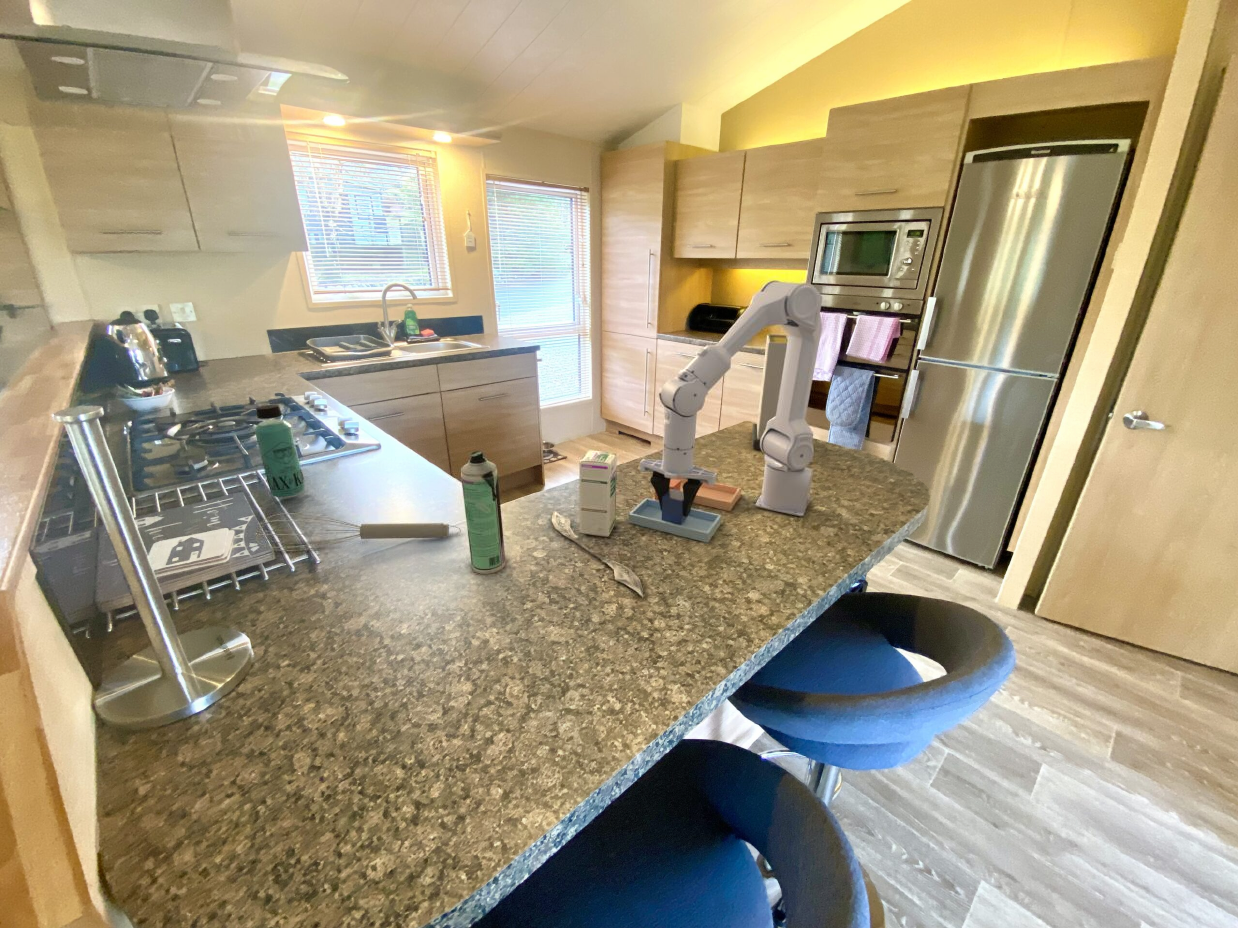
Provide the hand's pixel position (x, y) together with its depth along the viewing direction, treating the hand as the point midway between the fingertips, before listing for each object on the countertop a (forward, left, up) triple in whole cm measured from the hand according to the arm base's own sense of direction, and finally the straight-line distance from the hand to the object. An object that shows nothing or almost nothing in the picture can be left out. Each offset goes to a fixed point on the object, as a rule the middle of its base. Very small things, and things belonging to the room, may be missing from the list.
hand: (675, 511), depth 99 cm
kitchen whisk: (+47, +33, -3) cm, 57 cm away
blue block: (0, 0, -1) cm, 1 cm away
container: (-5, -55, -3) cm, 55 cm away
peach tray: (0, -14, -2) cm, 14 cm away
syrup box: (+12, +9, -2) cm, 15 cm away
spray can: (+22, +28, -3) cm, 36 cm away
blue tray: (0, 0, -2) cm, 2 cm away
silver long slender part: (+9, +16, -3) cm, 19 cm away
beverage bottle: (+76, +28, -3) cm, 81 cm away
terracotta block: (+4, -7, -2) cm, 9 cm away
